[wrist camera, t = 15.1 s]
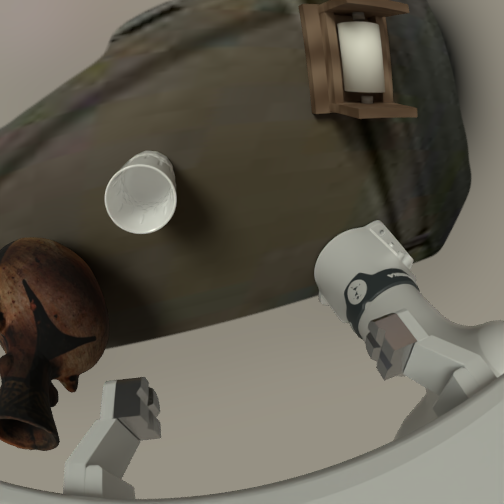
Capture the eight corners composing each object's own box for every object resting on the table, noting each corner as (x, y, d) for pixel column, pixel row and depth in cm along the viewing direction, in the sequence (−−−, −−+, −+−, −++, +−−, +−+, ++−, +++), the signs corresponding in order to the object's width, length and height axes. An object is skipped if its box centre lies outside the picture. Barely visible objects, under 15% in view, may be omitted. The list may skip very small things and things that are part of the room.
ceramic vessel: (-2, 242, 37) (-90, 381, 12) (66, 189, 37) (-48, 347, 12) (69, 328, 49) (38, 475, 24) (140, 294, 48) (129, 471, 23)
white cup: (131, 139, 36) (114, 155, 27) (186, 155, 39) (186, 176, 30) (115, 193, 39) (98, 223, 31) (168, 207, 42) (164, 241, 33)
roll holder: (387, 108, 40) (427, 119, 32) (312, 112, 39) (344, 122, 31) (379, 13, 31) (419, 5, 24) (298, 6, 30) (328, -11, 22)
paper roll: (373, 90, 37) (392, 94, 32) (338, 90, 36) (354, 93, 32) (367, 27, 31) (386, 23, 27) (331, 25, 31) (346, 19, 27)
